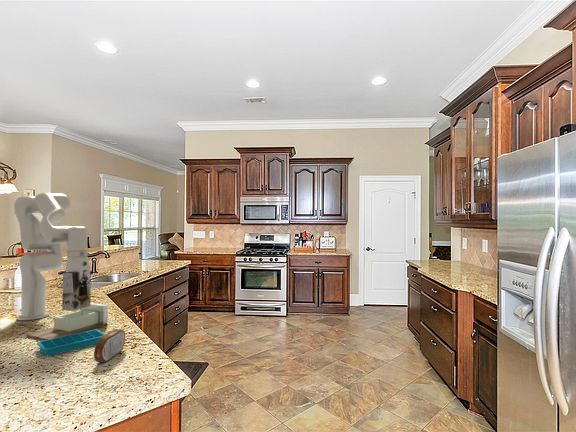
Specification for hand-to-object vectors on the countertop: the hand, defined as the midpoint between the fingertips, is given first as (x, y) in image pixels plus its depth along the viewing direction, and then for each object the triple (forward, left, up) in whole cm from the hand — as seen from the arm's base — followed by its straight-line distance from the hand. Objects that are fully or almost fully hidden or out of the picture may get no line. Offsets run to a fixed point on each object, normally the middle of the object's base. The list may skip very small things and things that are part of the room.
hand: (77, 294), depth 145 cm
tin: (+42, -16, -15) cm, 47 cm away
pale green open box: (0, 0, -14) cm, 14 cm away
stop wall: (0, +8, -14) cm, 16 cm away
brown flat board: (0, -3, -15) cm, 15 cm away
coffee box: (0, 0, -6) cm, 6 cm away
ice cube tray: (+19, -14, -15) cm, 28 cm away
